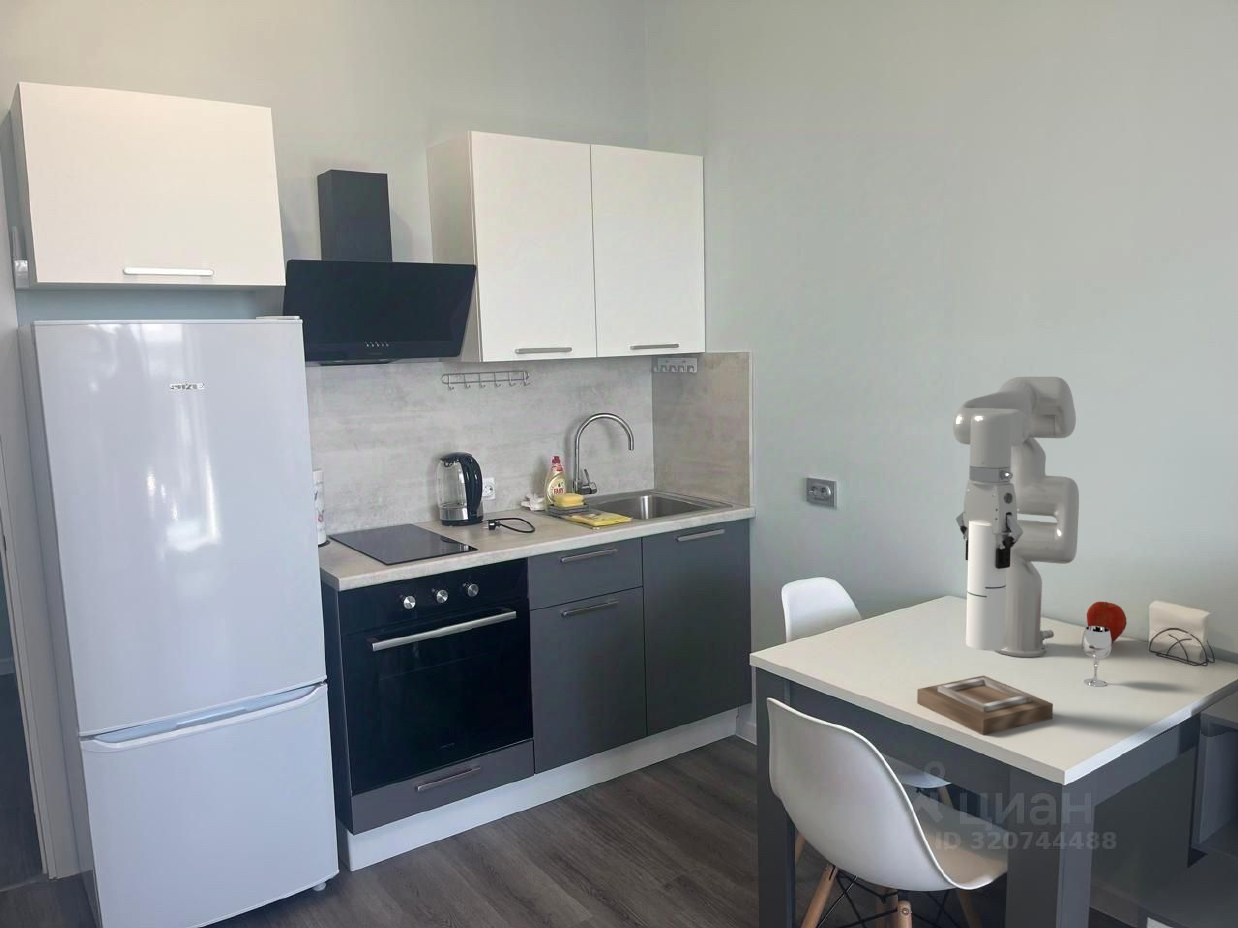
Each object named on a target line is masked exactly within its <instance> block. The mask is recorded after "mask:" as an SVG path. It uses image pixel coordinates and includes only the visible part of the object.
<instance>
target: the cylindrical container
mask: <svg viewBox="0 0 1238 928" xmlns="http://www.w3.org/2000/svg"><path fill="white" fill-rule="evenodd" d="M1006 525H1007V524H1005V526H1004V528H1003V529H1002V532H1006ZM1007 527H1008V526H1007ZM1002 538H1003V541H1004V540H1005V536H1002ZM996 548H999V546H998V543H997V541H996V535H994V534H993V533H992V528H991V526H990V525H985V524H981V523H976V522H972V521H969V543H968V560H967V581H966V582H967V586H966V587H967V592H966V621H965V622H966V626H965V627H966V630H965V631H966V632H965V644H966V646H967V647H970V648H971V649H975V650H979V651H992V652H993V651H995V650H1001V649H1003V648H1004V636H1005V603H1006V571H1007V568H1002V569H997V568H996ZM995 652H996V651H995Z"/></svg>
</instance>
